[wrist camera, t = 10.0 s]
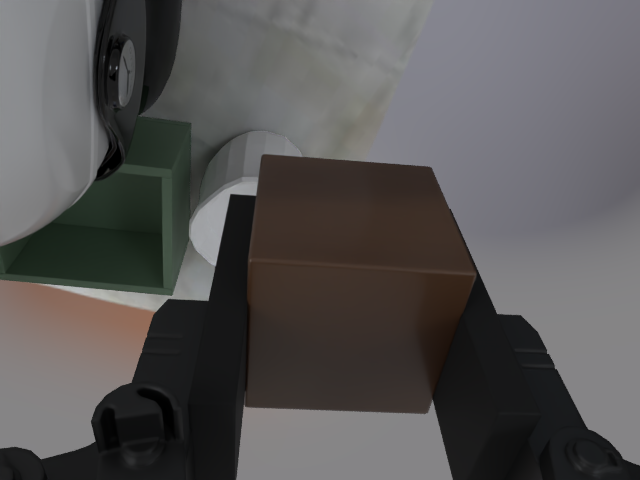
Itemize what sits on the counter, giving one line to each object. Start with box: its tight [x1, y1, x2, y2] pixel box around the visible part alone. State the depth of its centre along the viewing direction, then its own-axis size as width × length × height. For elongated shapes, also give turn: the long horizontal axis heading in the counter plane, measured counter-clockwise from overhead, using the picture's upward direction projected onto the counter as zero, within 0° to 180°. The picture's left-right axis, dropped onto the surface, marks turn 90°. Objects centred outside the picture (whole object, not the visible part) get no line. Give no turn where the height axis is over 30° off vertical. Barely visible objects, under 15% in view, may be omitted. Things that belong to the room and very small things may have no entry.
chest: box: [0, 116, 191, 296], centre depth 46 cm, size 15×13×9 cm
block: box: [244, 154, 477, 414], centre depth 13 cm, size 4×4×4 cm
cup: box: [189, 131, 303, 267], centre depth 46 cm, size 10×10×10 cm
